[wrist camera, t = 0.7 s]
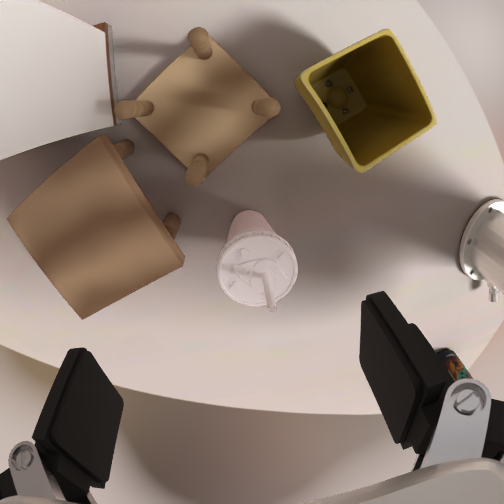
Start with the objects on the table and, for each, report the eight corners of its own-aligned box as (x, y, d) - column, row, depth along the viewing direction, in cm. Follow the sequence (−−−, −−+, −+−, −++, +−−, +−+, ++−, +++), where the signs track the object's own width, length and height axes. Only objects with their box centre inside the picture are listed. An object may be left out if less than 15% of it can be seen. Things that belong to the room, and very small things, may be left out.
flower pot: (390, 115, 29) (440, 124, 20) (324, 156, 30) (359, 176, 22) (348, 43, 25) (390, 26, 17) (276, 83, 27) (297, 74, 19)
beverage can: (443, 342, 45) (477, 391, 34) (458, 353, 47) (489, 397, 36) (415, 370, 47) (444, 420, 36) (431, 378, 49) (458, 424, 39)
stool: (192, 225, 32) (182, 265, 25) (107, 274, 34) (82, 319, 26) (131, 127, 27) (98, 136, 20) (49, 190, 29) (6, 218, 21)
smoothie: (269, 259, 35) (293, 348, 22) (211, 247, 34) (206, 335, 21) (287, 205, 32) (326, 274, 20) (226, 190, 31) (227, 254, 18)
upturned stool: (278, 108, 28) (298, 109, 20) (202, 177, 30) (194, 203, 22) (206, 36, 24) (199, 11, 16) (131, 109, 26) (98, 112, 19)
